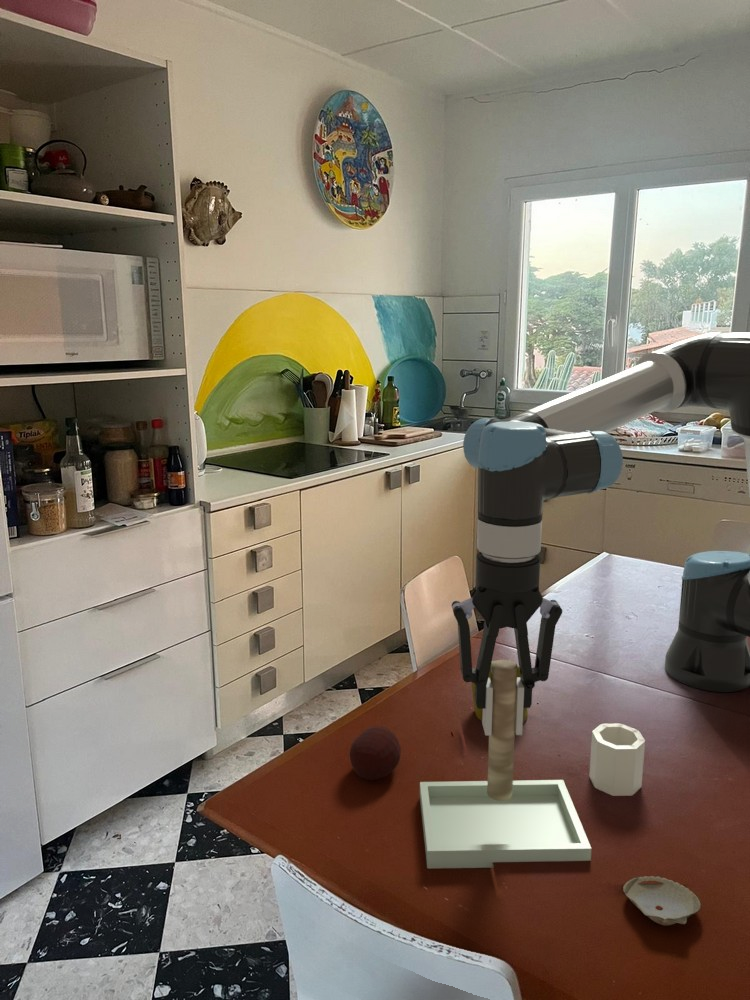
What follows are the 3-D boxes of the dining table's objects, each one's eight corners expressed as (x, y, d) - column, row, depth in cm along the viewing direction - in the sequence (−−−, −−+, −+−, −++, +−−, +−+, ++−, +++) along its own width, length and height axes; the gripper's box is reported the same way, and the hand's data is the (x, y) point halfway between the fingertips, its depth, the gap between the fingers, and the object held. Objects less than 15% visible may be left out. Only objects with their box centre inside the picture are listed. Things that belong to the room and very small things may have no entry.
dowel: (509, 785, 101) (514, 659, 96) (514, 800, 98) (519, 671, 93) (485, 785, 101) (489, 660, 96) (489, 801, 98) (493, 671, 93)
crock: (630, 772, 113) (634, 723, 111) (645, 800, 106) (650, 748, 104) (585, 772, 113) (588, 723, 111) (598, 800, 106) (601, 749, 104)
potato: (340, 784, 111) (339, 746, 109) (365, 747, 120) (365, 711, 119) (388, 794, 108) (388, 755, 107) (410, 756, 118) (410, 719, 116)
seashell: (690, 909, 90) (622, 876, 92) (699, 886, 89) (631, 854, 92) (692, 952, 82) (618, 915, 85) (702, 927, 82) (627, 891, 84)
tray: (562, 795, 108) (563, 779, 107) (590, 865, 94) (591, 848, 93) (419, 797, 107) (419, 781, 107) (427, 868, 94) (427, 851, 93)
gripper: (568, 542, 95) (558, 713, 101) (437, 544, 95) (435, 715, 101) (584, 562, 88) (573, 745, 94) (443, 563, 88) (440, 746, 93)
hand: (501, 729), depth 97 cm, fingers closed on dowel, 3 cm apart
